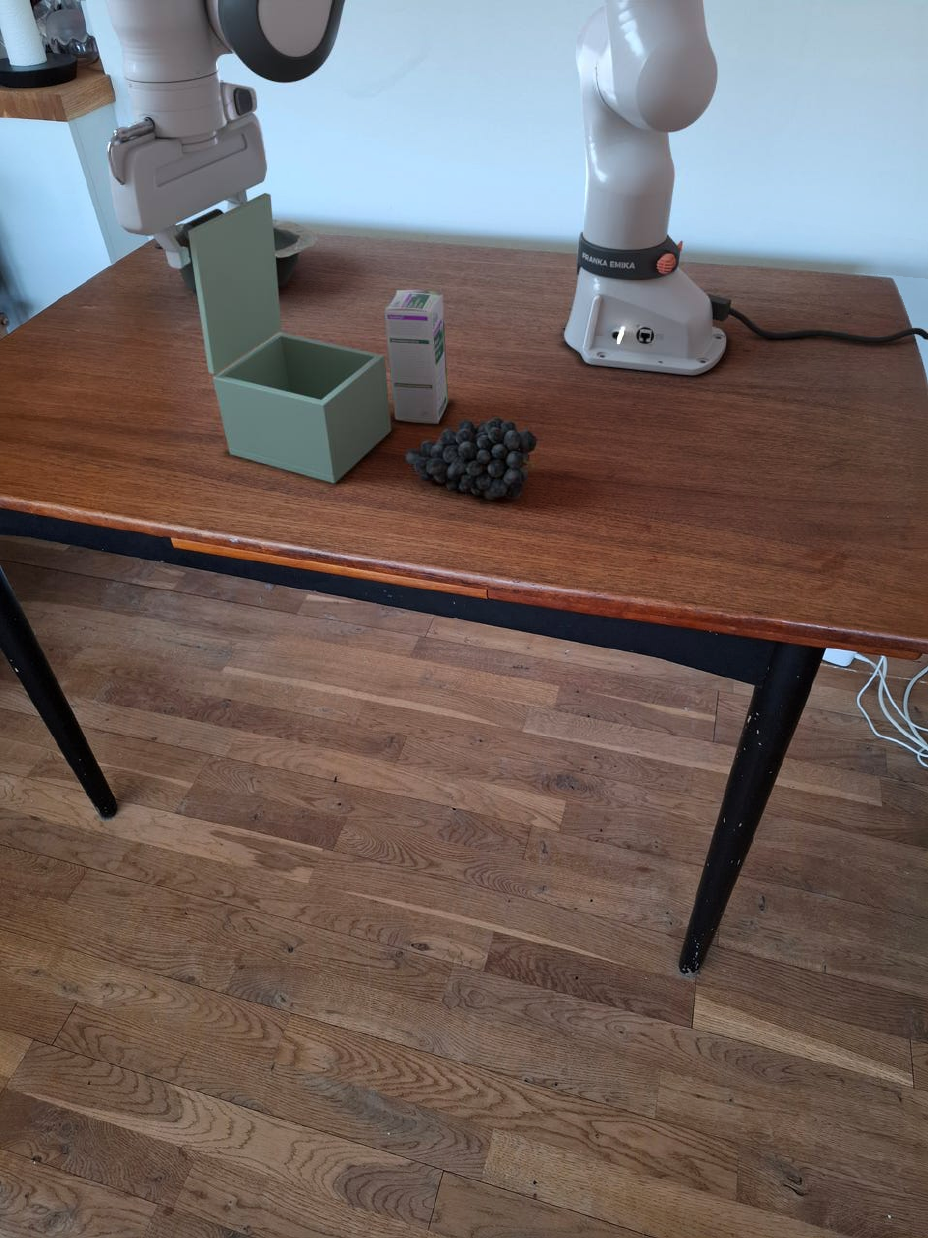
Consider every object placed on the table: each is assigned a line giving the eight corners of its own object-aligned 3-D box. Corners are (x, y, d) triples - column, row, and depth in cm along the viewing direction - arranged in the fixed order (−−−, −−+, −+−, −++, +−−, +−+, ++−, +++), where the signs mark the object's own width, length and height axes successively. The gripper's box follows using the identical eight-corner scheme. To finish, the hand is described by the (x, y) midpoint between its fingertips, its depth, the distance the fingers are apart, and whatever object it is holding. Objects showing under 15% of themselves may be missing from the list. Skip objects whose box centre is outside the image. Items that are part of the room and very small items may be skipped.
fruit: (393, 413, 94) (531, 431, 90) (420, 401, 101) (549, 416, 97) (391, 493, 97) (524, 513, 93) (417, 475, 104) (542, 493, 101)
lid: (270, 194, 96) (232, 183, 97) (194, 232, 87) (153, 220, 89) (281, 329, 107) (247, 317, 108) (214, 374, 98) (178, 361, 100)
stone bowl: (147, 310, 136) (131, 247, 130) (193, 261, 155) (181, 204, 150) (307, 307, 135) (298, 243, 129) (333, 258, 154) (326, 201, 149)
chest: (391, 430, 109) (385, 354, 102) (334, 483, 100) (323, 405, 94) (291, 405, 114) (279, 331, 107) (229, 454, 105) (212, 377, 99)
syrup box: (438, 425, 110) (433, 310, 100) (392, 420, 110) (383, 307, 101) (448, 402, 114) (444, 290, 104) (404, 398, 115) (396, 287, 105)
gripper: (129, 137, 79) (167, 290, 88) (266, 86, 92) (286, 224, 102) (76, 130, 81) (119, 280, 90) (217, 81, 94) (242, 217, 104)
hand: (209, 250), depth 96 cm, fingers open, 8 cm apart
